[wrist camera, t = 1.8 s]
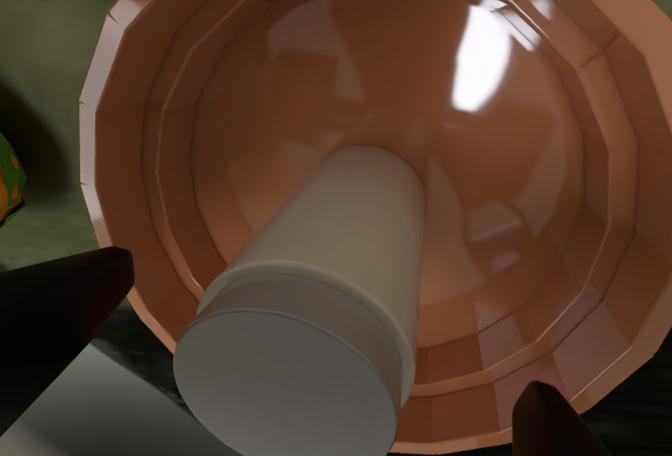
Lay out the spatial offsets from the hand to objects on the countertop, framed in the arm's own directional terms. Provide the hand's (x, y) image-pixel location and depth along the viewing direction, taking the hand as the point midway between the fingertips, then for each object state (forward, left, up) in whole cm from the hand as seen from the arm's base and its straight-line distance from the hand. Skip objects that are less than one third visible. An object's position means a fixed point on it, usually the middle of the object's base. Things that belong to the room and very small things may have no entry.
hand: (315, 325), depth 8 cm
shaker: (0, 0, -6) cm, 6 cm away
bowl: (0, 0, -7) cm, 7 cm away
